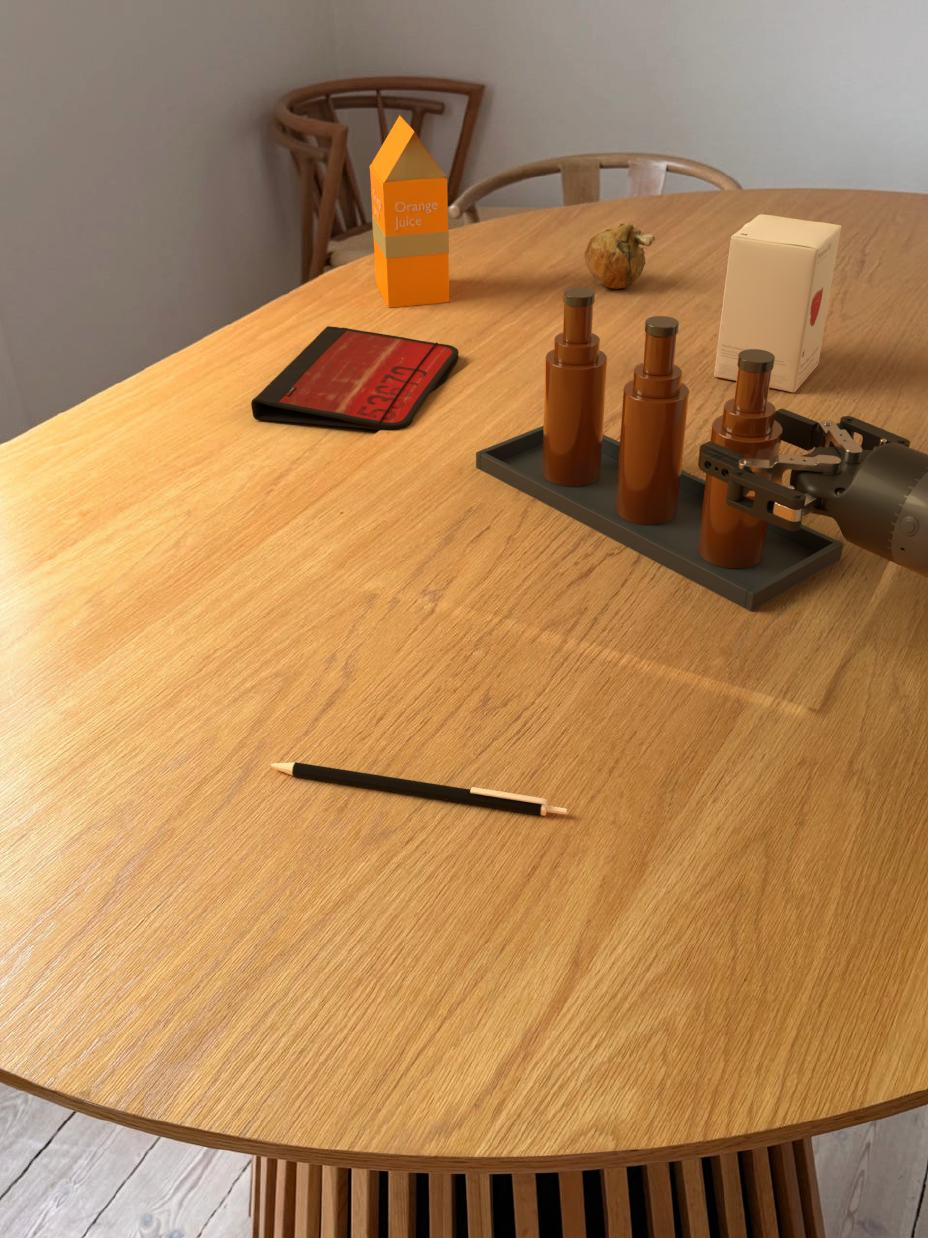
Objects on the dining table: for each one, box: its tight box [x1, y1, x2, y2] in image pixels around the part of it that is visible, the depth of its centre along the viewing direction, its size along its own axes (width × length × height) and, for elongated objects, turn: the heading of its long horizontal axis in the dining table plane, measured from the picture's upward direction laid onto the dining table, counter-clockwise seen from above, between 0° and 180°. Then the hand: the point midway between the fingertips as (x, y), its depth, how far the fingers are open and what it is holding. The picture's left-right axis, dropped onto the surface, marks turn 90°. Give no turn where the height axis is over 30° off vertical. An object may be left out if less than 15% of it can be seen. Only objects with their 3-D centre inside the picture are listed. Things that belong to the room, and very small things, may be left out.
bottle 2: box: [615, 315, 690, 525], centre depth 98 cm, size 5×5×17 cm
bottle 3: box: [698, 349, 783, 569], centre depth 92 cm, size 5×5×17 cm
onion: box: [583, 222, 656, 290], centre depth 149 cm, size 8×8×8 cm
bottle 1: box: [542, 286, 608, 487], centre depth 104 cm, size 5×5×17 cm
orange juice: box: [368, 115, 450, 309], centre depth 144 cm, size 8×9×20 cm
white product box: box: [713, 213, 842, 393], centre depth 124 cm, size 9×9×15 cm
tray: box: [475, 425, 844, 612], centre depth 103 cm, size 31×11×2 cm, turn 41°
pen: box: [268, 761, 568, 817], centre depth 75 cm, size 1×19×1 cm, turn 76°
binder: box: [250, 325, 460, 431], centre depth 126 cm, size 16×2×21 cm
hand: (738, 437), depth 92 cm, fingers open, 8 cm apart
